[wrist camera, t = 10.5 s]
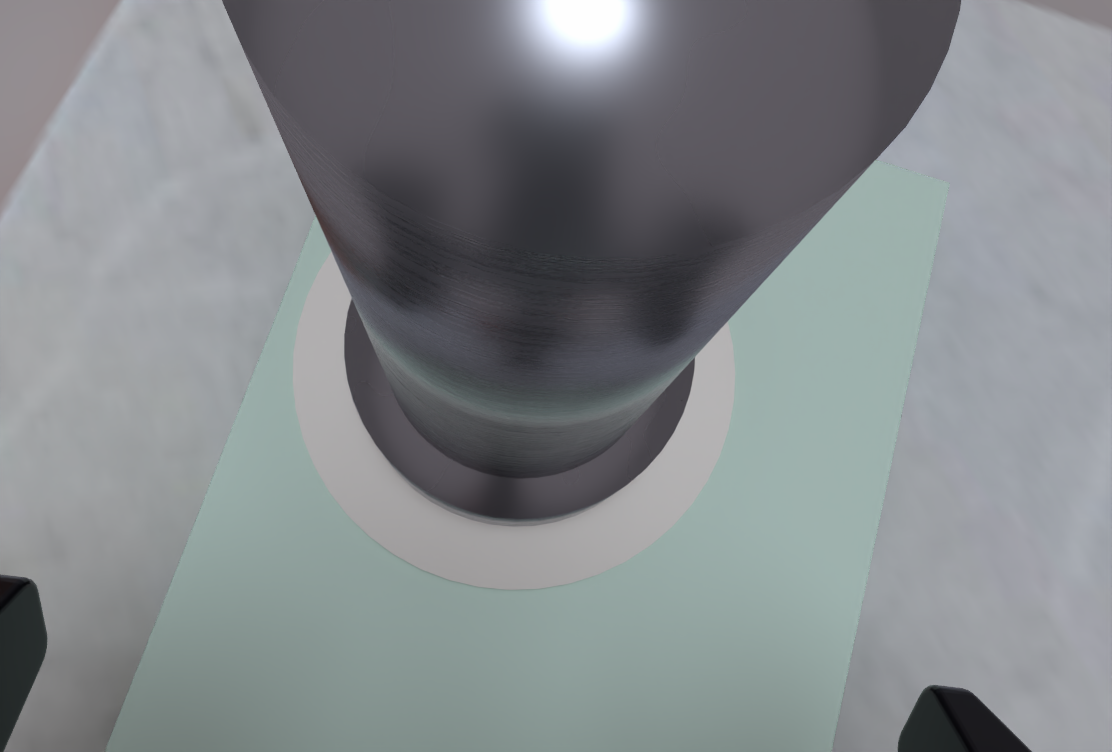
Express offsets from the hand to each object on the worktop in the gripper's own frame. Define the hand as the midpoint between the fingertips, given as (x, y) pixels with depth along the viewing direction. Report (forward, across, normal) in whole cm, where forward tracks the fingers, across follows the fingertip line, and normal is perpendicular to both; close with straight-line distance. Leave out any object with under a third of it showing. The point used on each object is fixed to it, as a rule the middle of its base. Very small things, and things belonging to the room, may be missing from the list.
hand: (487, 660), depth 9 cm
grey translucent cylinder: (+10, 0, +2) cm, 10 cm away
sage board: (+9, -1, +6) cm, 10 cm away
